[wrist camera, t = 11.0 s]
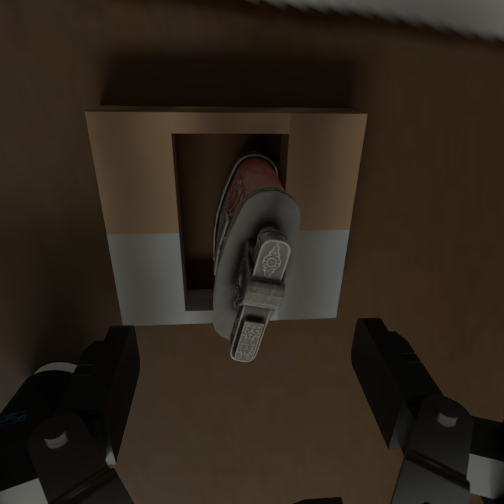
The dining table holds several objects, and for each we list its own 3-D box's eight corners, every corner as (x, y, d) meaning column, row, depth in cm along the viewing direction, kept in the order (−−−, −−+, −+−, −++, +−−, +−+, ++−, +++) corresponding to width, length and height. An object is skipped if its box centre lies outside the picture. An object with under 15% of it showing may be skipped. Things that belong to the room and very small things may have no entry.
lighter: (231, 145, 22) (242, 205, 13) (286, 158, 22) (333, 224, 13) (204, 263, 25) (199, 374, 16) (253, 271, 26) (273, 383, 17)
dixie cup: (16, 334, 26) (-99, 496, 17) (128, 360, 28) (84, 517, 19) (3, 408, 30) (-99, 580, 20) (105, 427, 32) (56, 591, 22)
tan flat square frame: (351, 108, 21) (367, 113, 19) (326, 296, 27) (335, 317, 25) (99, 105, 20) (84, 111, 18) (130, 303, 26) (123, 326, 24)
